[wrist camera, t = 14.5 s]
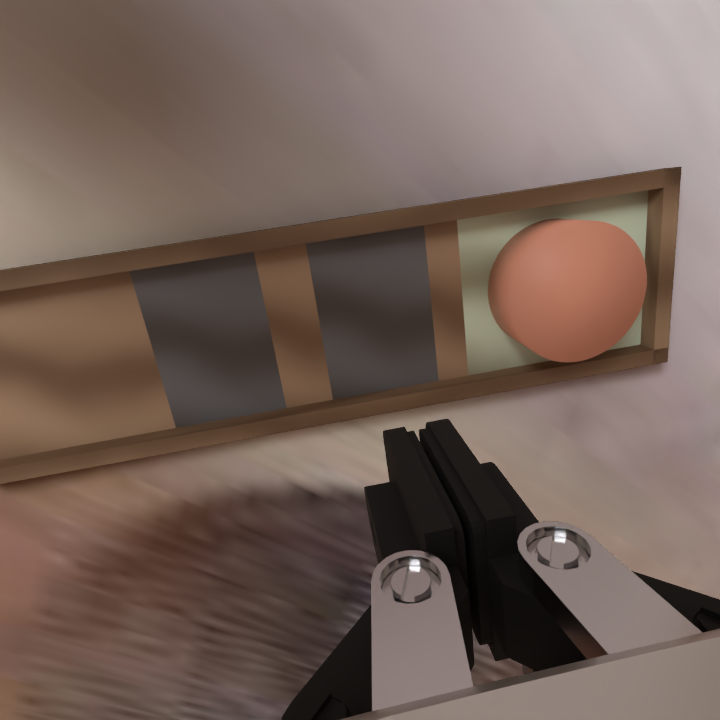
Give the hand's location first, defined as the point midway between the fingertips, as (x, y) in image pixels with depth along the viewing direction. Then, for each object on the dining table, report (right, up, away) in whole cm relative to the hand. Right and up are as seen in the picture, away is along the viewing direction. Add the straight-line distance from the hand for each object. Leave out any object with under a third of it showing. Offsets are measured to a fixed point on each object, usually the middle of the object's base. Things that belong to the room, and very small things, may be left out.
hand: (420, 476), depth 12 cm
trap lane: (-4, +5, +17) cm, 18 cm away
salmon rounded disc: (+10, +8, +18) cm, 22 cm away
